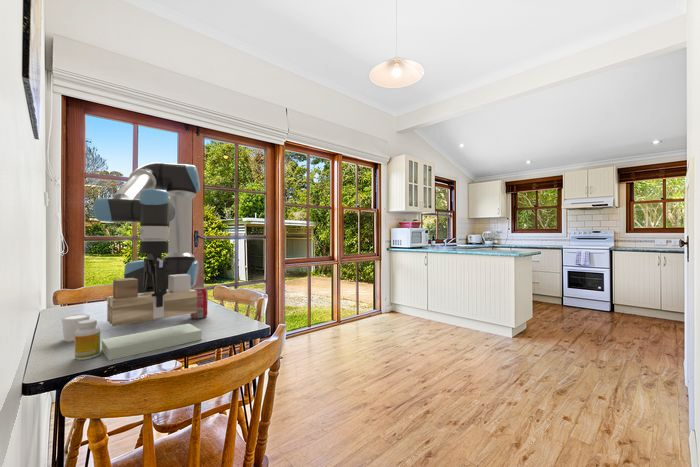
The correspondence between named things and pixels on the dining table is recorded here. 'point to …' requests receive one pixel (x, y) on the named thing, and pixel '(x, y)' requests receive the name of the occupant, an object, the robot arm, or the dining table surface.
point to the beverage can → (201, 303)
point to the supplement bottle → (87, 340)
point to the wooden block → (149, 307)
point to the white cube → (179, 283)
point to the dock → (149, 341)
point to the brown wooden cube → (125, 288)
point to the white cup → (72, 326)
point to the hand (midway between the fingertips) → (154, 315)
